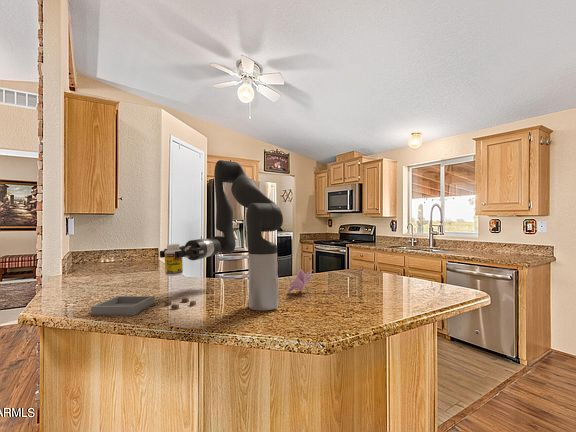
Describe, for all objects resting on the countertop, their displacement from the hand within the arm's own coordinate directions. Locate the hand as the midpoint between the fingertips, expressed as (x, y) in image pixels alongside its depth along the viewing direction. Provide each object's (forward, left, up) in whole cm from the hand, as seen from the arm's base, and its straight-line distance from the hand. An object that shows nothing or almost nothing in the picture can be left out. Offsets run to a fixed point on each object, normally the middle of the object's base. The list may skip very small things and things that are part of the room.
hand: (168, 254), depth 101 cm
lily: (-44, -17, -17) cm, 50 cm away
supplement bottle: (-1, -3, -7) cm, 8 cm away
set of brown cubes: (-4, -1, -17) cm, 17 cm away
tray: (+12, +4, -17) cm, 21 cm away
